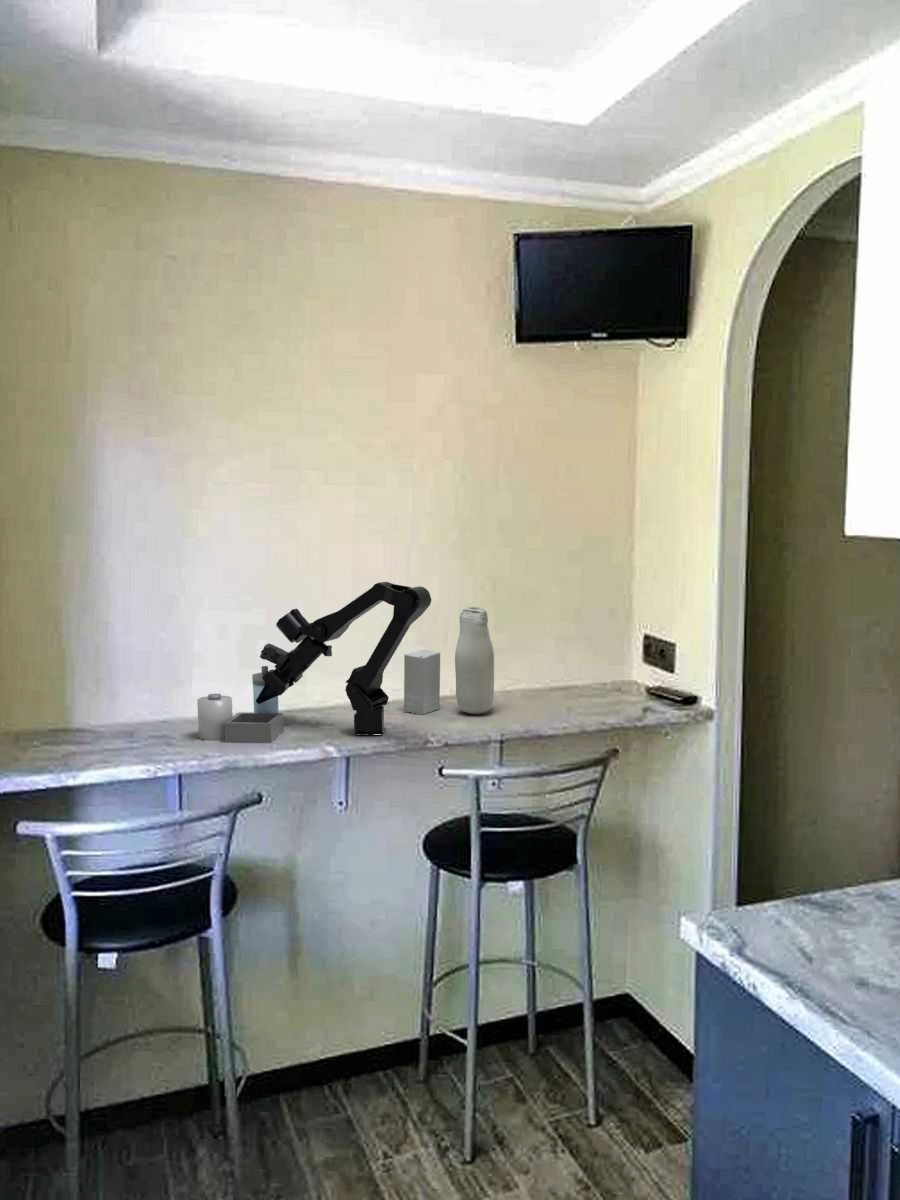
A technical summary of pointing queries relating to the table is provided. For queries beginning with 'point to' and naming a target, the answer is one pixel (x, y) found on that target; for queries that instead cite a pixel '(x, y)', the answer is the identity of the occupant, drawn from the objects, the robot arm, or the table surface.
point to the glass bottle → (474, 663)
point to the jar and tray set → (235, 722)
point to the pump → (258, 685)
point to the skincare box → (421, 681)
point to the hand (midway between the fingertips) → (260, 699)
